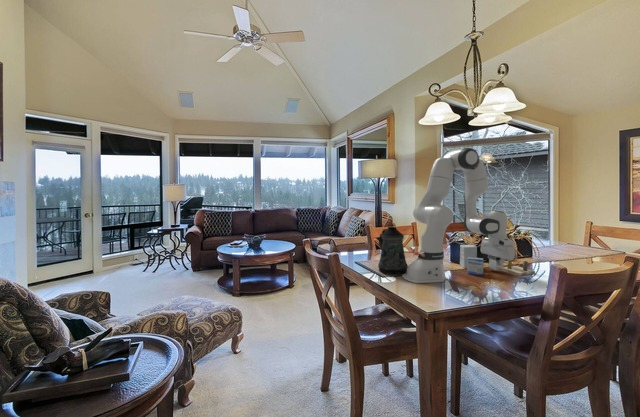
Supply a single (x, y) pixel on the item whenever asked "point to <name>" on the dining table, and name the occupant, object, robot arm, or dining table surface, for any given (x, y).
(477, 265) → the medicine box
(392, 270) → the black tall carved piece
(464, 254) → the supplement box
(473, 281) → the dining table surface
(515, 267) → the pinboard
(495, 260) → the sleeve
